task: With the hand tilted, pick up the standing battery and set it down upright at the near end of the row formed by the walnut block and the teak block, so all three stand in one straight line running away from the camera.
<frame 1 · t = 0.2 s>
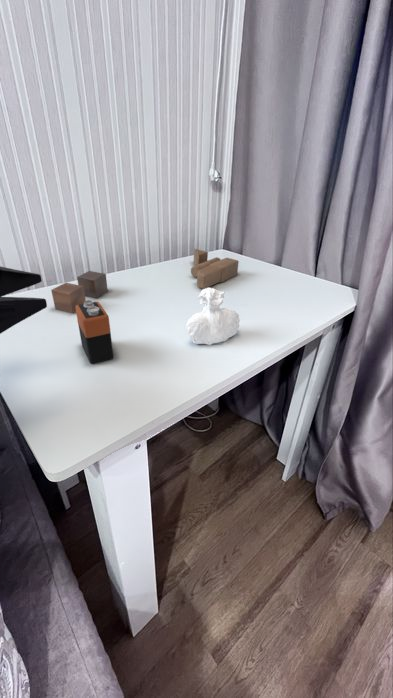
hand: (43, 289, 46), 17 cm above the table, tool horizontal, fingers open, 9 cm apart
line block near: (71, 307, 78), on the table
line block far: (94, 293, 86), on the table
wooden block set: (199, 275, 100), on the table
bust: (210, 337, 70), on the table
battery: (97, 354, 63), on the table
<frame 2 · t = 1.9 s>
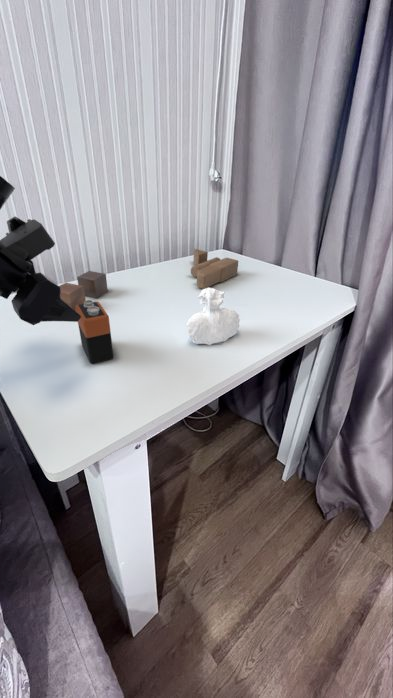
hand: (68, 307, 55), 11 cm above the table, tool tilted 45°, fingers open, 9 cm apart
nothing on the table moved.
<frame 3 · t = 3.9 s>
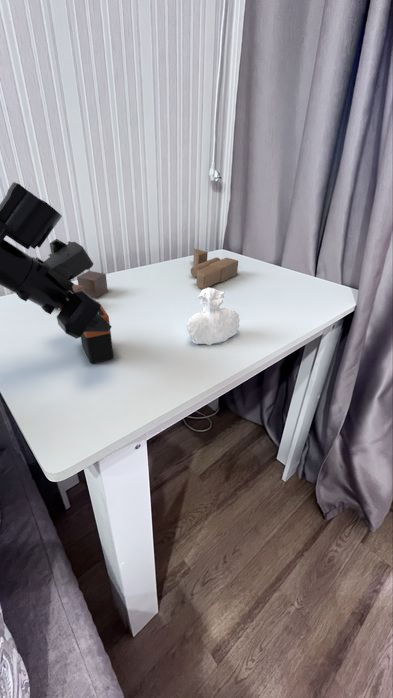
hand: (100, 320, 60), 7 cm above the table, tool tilted 45°, fingers closed on battery, 7 cm apart
battery: (97, 354, 63), on the table, touching gripper
everything else where it was.
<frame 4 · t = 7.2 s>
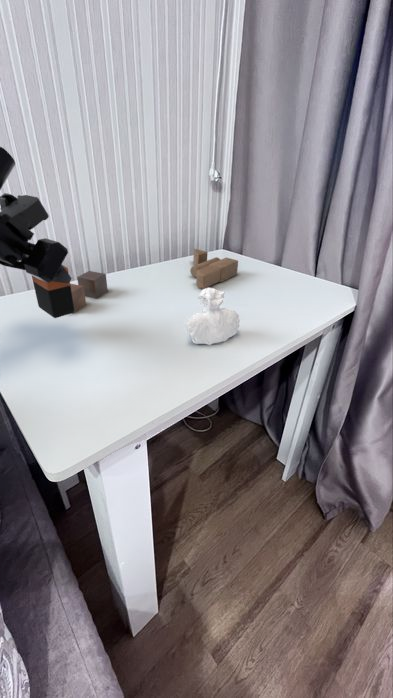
hand: (57, 276, 62), 12 cm above the table, tool tilted 45°, fingers closed on battery, 7 cm apart
battery: (57, 311, 65), point 5 cm above the table, touching gripper
everything else where it was.
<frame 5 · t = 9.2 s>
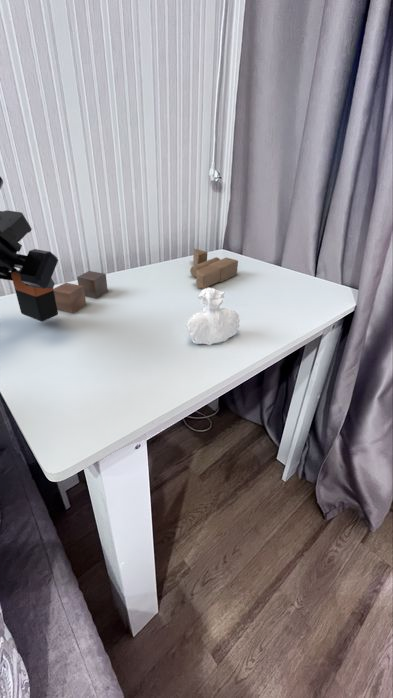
hand: (38, 282, 67), 9 cm above the table, tool tilted 45°, fingers closed on battery, 7 cm apart
battery: (40, 315, 70), point 2 cm above the table, touching gripper
everything else where it was.
when the fingers open (7 cm above the table, at t = 10.6 s): battery stays where it is, on the table.
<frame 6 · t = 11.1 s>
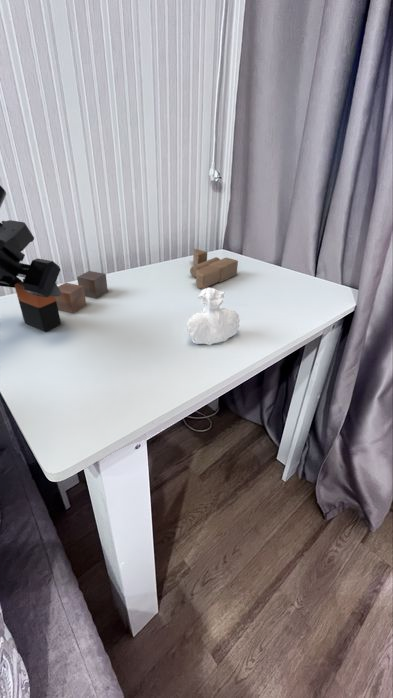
hand: (41, 290, 68), 7 cm above the table, tool tilted 45°, fingers open, 9 cm apart
battery: (43, 325, 71), on the table
everything else where it was.
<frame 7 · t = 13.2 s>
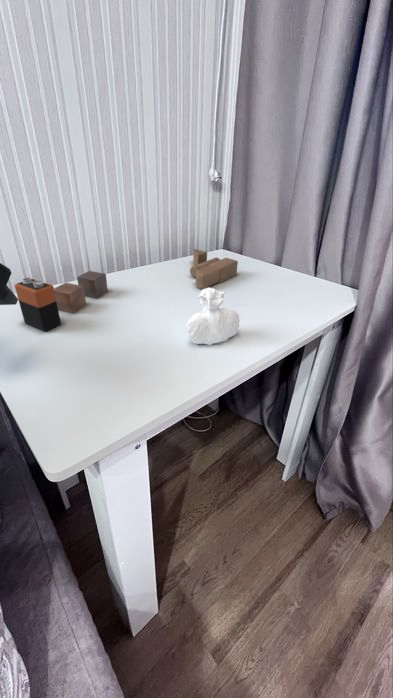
nothing on the table moved.
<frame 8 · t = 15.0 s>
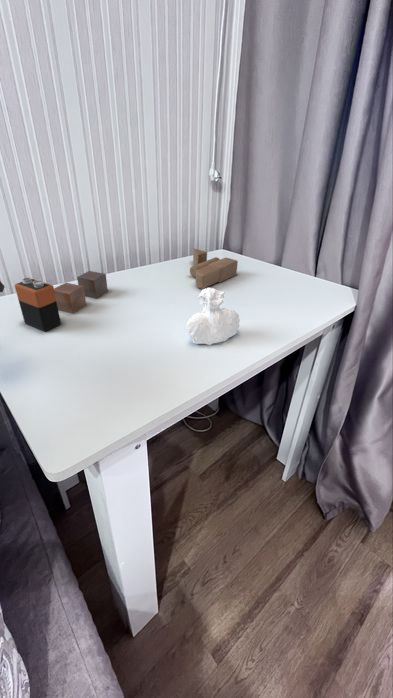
nothing on the table moved.
at the end: battery 0.1 cm from the target spot on the table beside the line block far, on the table; battery tilted 0°; line block near moved 0.0 cm from its start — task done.
